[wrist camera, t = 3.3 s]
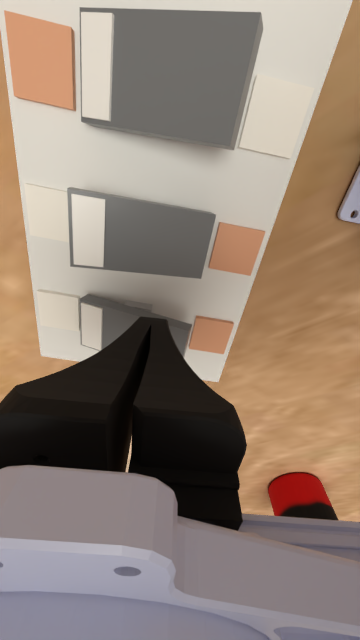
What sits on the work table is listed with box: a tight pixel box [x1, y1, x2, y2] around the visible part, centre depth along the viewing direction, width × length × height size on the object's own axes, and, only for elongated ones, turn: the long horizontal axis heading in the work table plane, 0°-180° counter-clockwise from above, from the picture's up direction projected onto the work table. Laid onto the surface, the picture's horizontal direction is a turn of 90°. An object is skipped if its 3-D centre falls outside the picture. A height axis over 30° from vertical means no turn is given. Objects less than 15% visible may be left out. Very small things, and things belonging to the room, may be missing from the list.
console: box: [0, 0, 353, 382], centre depth 17 cm, size 16×24×3 cm, turn 170°
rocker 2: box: [67, 187, 216, 279], centre depth 14 cm, size 8×4×1 cm, turn 80°
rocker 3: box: [80, 294, 192, 358], centre depth 18 cm, size 8×4×1 cm, turn 79°
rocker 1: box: [80, 7, 263, 150], centre depth 11 cm, size 8×4×1 cm, turn 79°
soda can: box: [268, 473, 339, 521], centre depth 31 cm, size 8×8×12 cm
